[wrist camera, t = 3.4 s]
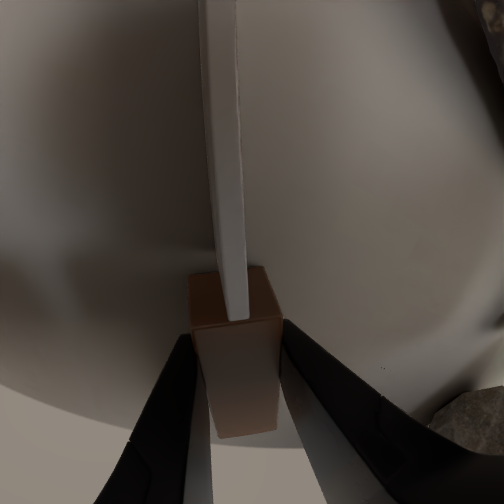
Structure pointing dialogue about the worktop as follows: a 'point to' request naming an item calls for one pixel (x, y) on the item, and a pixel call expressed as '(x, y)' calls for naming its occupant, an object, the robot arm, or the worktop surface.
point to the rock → (474, 421)
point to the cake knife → (231, 256)
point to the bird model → (493, 29)
